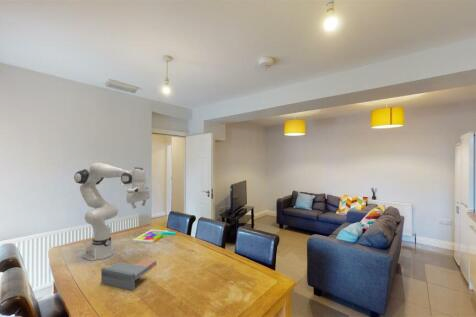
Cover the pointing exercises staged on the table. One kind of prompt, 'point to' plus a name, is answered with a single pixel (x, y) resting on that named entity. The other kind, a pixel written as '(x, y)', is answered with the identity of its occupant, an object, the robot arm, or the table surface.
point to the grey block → (122, 275)
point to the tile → (147, 263)
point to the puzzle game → (152, 236)
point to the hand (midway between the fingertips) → (139, 206)
